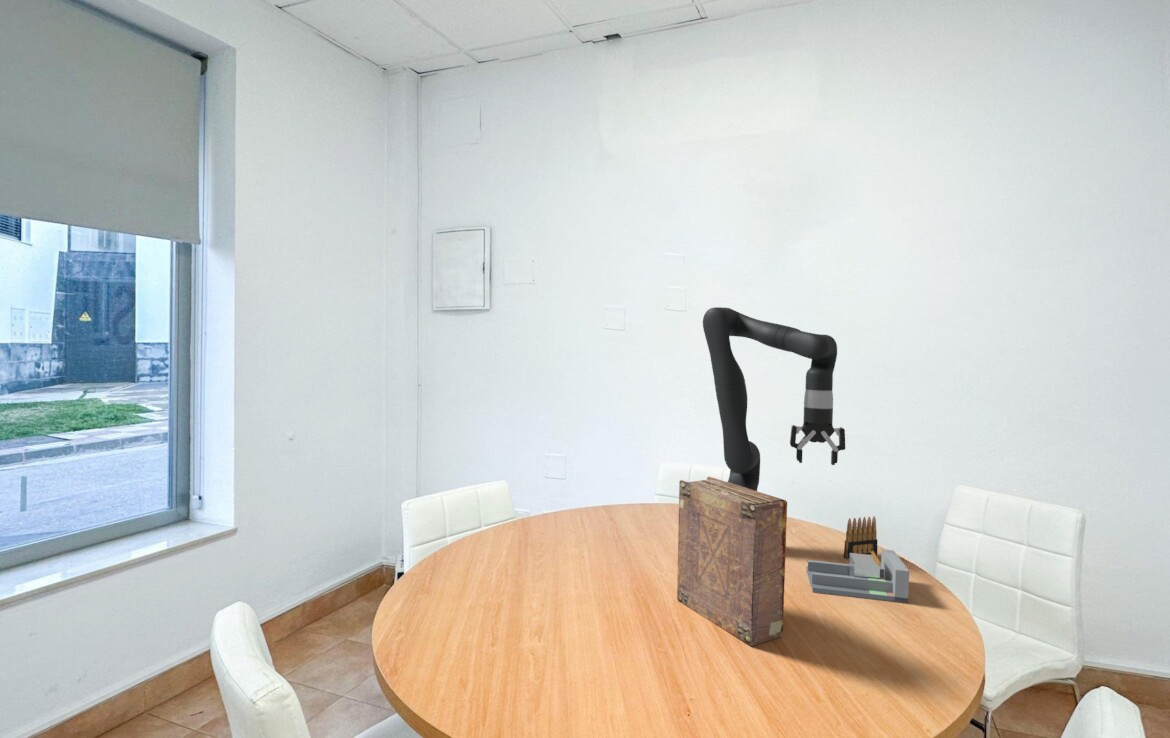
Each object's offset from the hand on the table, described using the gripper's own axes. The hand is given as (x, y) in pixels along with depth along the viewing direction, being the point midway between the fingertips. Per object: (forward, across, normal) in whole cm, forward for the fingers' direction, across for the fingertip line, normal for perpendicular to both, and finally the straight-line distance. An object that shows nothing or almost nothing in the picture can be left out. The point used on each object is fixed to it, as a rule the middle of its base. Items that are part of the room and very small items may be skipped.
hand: (816, 463), depth 163 cm
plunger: (+29, +11, -9) cm, 32 cm away
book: (+30, -23, -37) cm, 53 cm away
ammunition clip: (+30, +15, +15) cm, 37 cm away
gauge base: (+30, +9, -9) cm, 33 cm away
